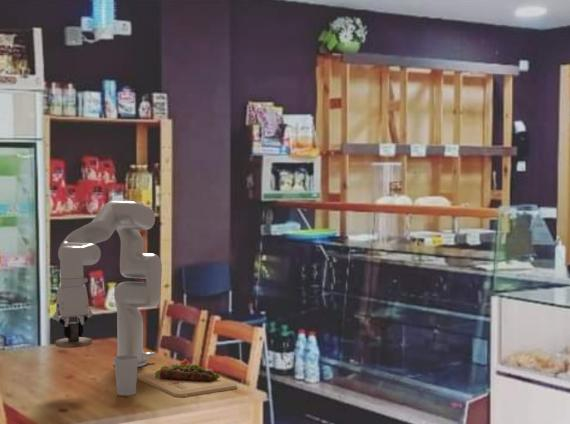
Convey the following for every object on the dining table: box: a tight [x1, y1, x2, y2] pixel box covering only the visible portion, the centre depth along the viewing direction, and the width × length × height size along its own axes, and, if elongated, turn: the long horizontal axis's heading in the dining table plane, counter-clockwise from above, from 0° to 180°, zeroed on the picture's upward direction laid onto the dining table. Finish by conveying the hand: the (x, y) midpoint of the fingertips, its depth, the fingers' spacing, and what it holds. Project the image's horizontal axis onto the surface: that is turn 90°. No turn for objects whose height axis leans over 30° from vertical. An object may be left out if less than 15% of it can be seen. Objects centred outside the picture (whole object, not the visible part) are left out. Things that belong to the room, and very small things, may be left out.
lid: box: [55, 321, 93, 349], centre depth 309 cm, size 12×12×7 cm
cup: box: [113, 355, 139, 396], centre depth 306 cm, size 8×8×12 cm
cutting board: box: [137, 358, 238, 397], centre depth 321 cm, size 35×23×8 cm
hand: (73, 336), depth 309 cm, fingers closed on lid, 3 cm apart
